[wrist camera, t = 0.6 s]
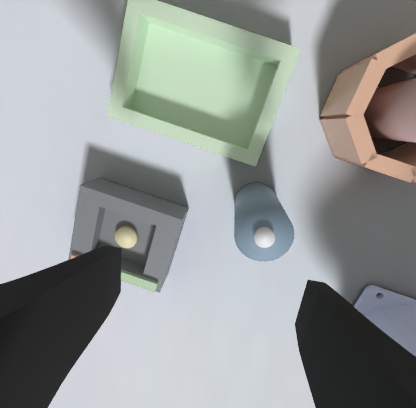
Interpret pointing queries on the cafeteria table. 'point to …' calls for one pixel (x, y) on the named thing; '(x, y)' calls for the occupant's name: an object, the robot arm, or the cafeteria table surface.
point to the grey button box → (128, 230)
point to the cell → (261, 223)
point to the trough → (199, 79)
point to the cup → (355, 107)
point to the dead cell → (393, 112)
